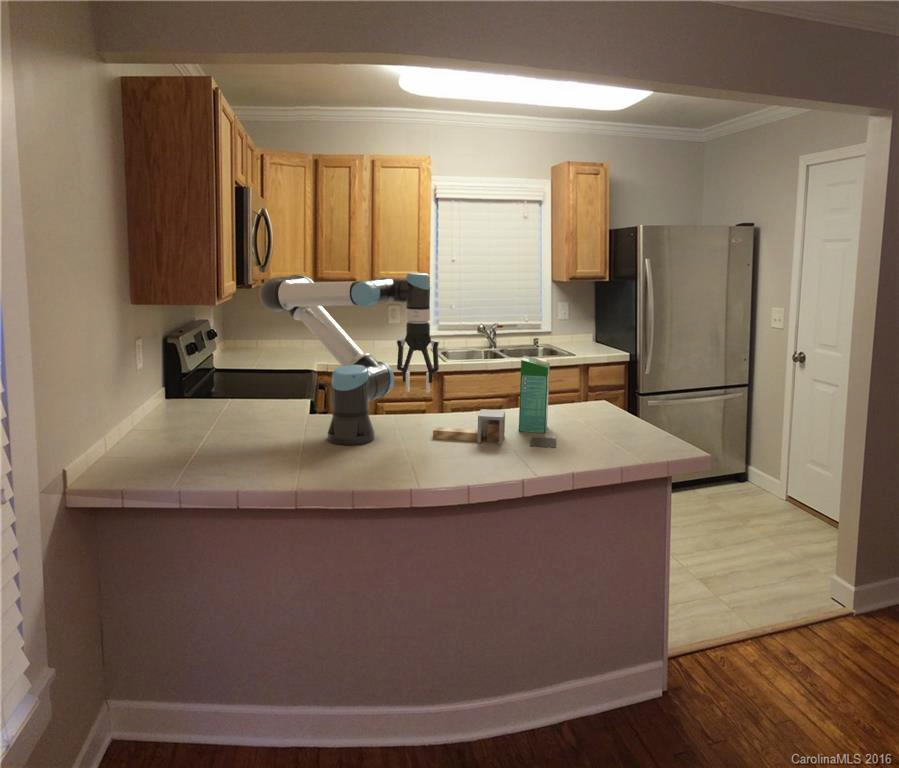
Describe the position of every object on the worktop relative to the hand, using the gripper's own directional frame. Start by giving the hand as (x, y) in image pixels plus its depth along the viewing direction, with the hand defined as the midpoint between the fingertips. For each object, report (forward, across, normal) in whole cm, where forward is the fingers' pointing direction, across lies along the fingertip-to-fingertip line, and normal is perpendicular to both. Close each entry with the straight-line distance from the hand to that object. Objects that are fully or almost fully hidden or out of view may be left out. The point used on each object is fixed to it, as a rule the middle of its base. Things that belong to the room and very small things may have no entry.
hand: (417, 391), depth 235 cm
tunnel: (+15, +24, 0) cm, 29 cm away
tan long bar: (+15, +14, 0) cm, 20 cm away
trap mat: (+15, +42, 0) cm, 44 cm away
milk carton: (+15, +38, +16) cm, 43 cm away
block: (+15, +26, 0) cm, 30 cm away
